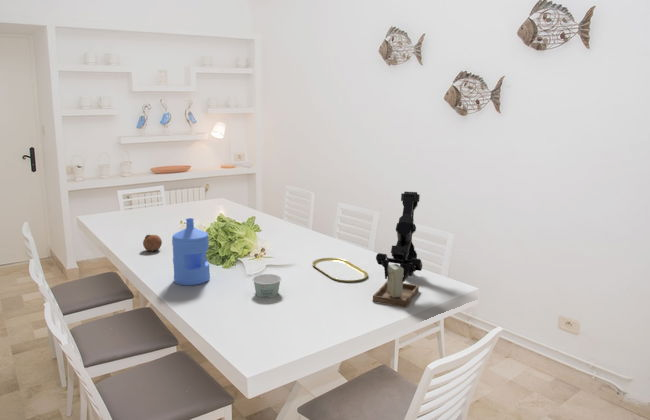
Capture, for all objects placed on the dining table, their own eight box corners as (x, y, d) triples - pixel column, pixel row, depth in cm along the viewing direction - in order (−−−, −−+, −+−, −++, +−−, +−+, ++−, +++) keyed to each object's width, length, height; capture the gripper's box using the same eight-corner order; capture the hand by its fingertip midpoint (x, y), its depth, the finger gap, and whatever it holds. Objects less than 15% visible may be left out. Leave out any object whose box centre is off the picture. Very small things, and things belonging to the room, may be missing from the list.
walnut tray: (387, 286, 223) (387, 280, 222) (418, 291, 217) (418, 285, 217) (372, 301, 205) (372, 295, 204) (406, 307, 199) (406, 301, 199)
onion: (145, 257, 267) (135, 241, 264) (155, 248, 275) (146, 232, 272) (158, 253, 263) (148, 237, 260) (168, 244, 271) (159, 228, 268)
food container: (254, 299, 205) (254, 284, 203) (250, 289, 216) (250, 274, 215) (283, 297, 208) (283, 282, 206) (278, 287, 219) (278, 272, 218)
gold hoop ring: (339, 286, 223) (339, 282, 223) (306, 263, 253) (306, 260, 253) (375, 280, 231) (375, 276, 231) (338, 258, 262) (339, 256, 262)
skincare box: (386, 292, 210) (387, 264, 208) (396, 291, 212) (396, 263, 209) (393, 298, 205) (394, 269, 202) (403, 296, 206) (404, 268, 204)
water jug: (166, 282, 223) (163, 220, 217) (191, 272, 236) (188, 213, 230) (193, 288, 216) (191, 224, 210) (217, 277, 229) (215, 217, 223)
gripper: (378, 234, 210) (368, 267, 203) (422, 240, 203) (414, 274, 196) (382, 247, 219) (374, 279, 212) (425, 253, 212) (417, 287, 204)
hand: (394, 280), depth 206 cm, fingers closed on skincare box, 7 cm apart
